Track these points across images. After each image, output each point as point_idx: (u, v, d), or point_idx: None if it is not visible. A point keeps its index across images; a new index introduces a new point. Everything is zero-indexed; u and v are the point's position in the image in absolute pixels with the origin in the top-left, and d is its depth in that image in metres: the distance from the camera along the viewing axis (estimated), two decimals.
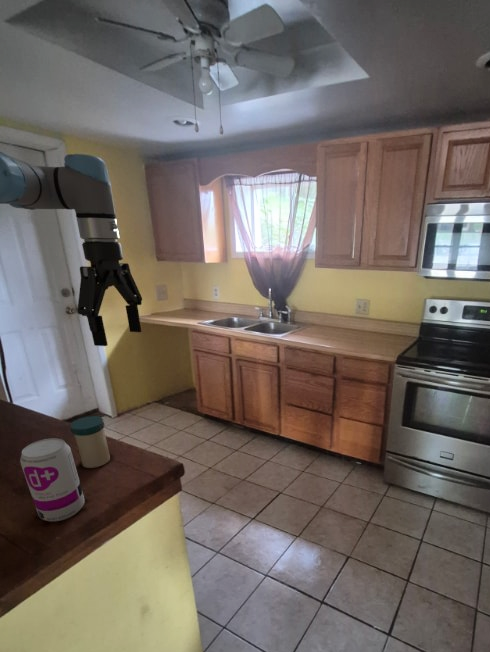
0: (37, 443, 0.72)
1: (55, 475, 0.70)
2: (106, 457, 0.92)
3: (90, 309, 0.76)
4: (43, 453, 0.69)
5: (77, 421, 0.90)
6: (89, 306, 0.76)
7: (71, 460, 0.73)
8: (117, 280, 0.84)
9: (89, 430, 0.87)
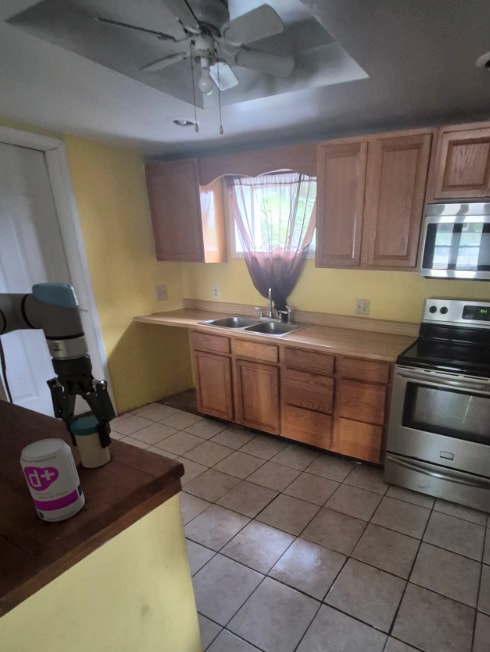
0: (37, 443, 0.72)
1: (55, 475, 0.70)
2: (106, 457, 0.92)
3: (56, 414, 0.88)
4: (43, 453, 0.69)
5: (77, 421, 0.90)
6: (55, 412, 0.88)
7: (71, 460, 0.73)
8: None
9: (89, 430, 0.87)
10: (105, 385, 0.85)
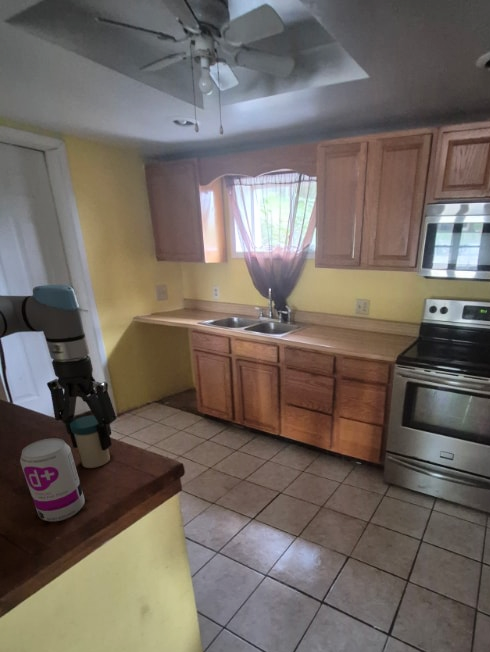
0: (37, 443, 0.72)
1: (55, 475, 0.70)
2: (106, 457, 0.92)
3: (57, 416, 0.88)
4: (43, 453, 0.69)
5: (77, 426, 0.87)
6: (55, 414, 0.88)
7: (71, 460, 0.73)
8: None
9: None
10: (105, 387, 0.85)
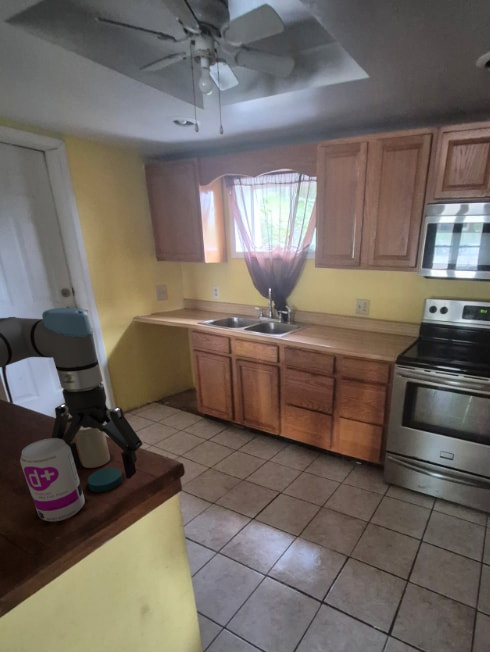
0: (37, 443, 0.72)
1: (55, 475, 0.70)
2: (106, 457, 0.92)
3: None
4: (43, 453, 0.69)
5: (95, 482, 0.82)
6: (53, 437, 0.81)
7: (71, 460, 0.73)
8: None
9: (121, 475, 0.86)
10: (120, 412, 0.78)
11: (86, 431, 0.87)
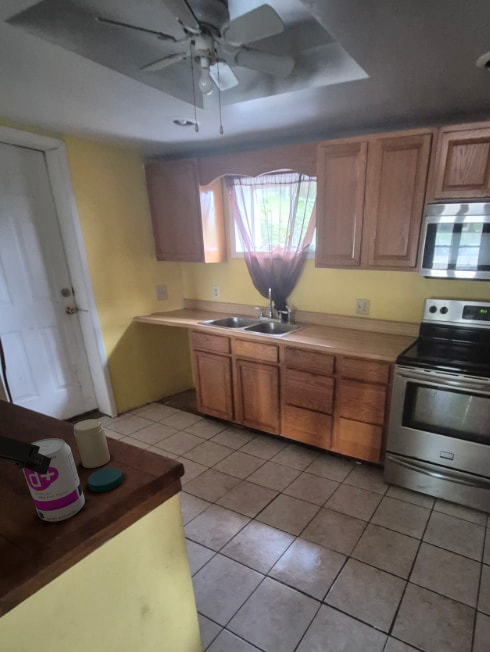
0: (37, 443, 0.72)
1: (55, 475, 0.70)
2: (106, 457, 0.92)
3: None
4: (43, 453, 0.69)
5: (95, 482, 0.82)
6: None
7: (71, 460, 0.73)
8: None
9: (121, 475, 0.86)
10: None
11: (86, 431, 0.87)
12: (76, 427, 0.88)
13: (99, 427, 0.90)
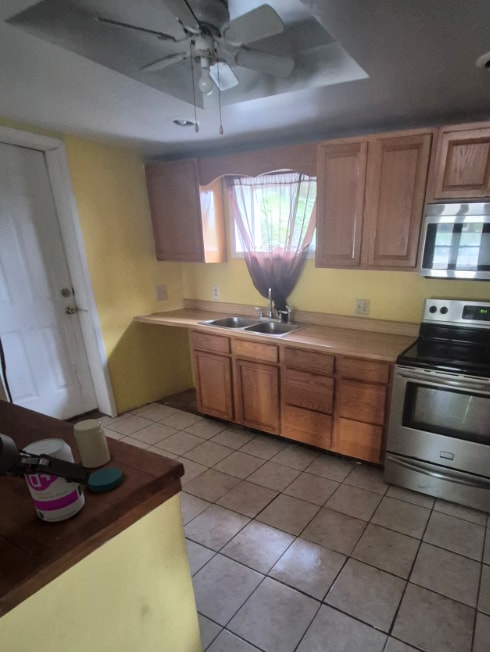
0: (37, 443, 0.72)
1: None
2: (106, 457, 0.92)
3: (1, 475, 0.70)
4: (43, 453, 0.69)
5: (95, 482, 0.82)
6: None
7: (71, 460, 0.73)
8: None
9: (121, 475, 0.86)
10: (47, 459, 0.63)
11: (86, 431, 0.87)
12: (76, 427, 0.88)
13: (99, 427, 0.90)
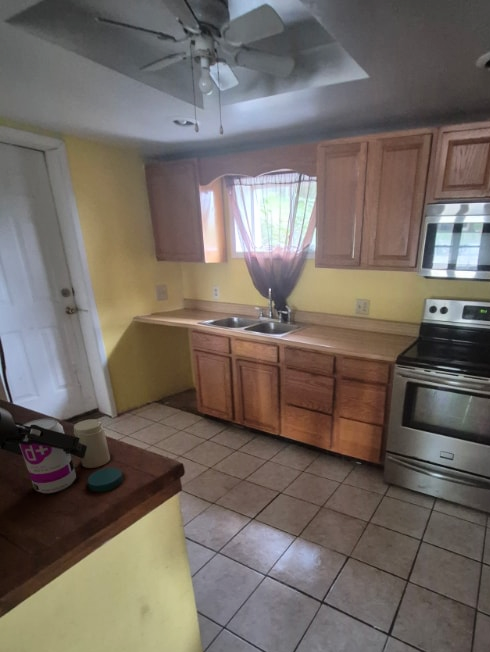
0: (32, 422, 0.80)
1: (49, 451, 0.78)
2: (106, 457, 0.92)
3: None
4: None
5: (95, 482, 0.82)
6: None
7: None
8: None
9: (121, 475, 0.86)
10: (38, 430, 0.70)
11: (86, 431, 0.87)
12: (76, 427, 0.88)
13: (99, 427, 0.90)
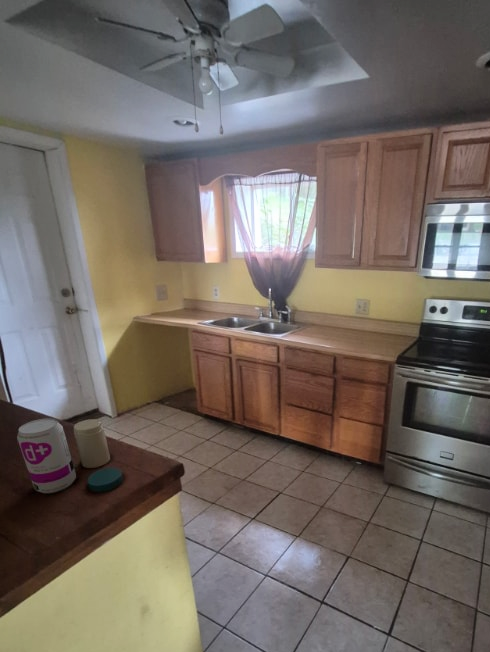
0: (33, 422, 0.80)
1: (49, 451, 0.78)
2: (106, 457, 0.92)
3: None
4: (38, 430, 0.77)
5: (95, 482, 0.82)
6: None
7: (63, 438, 0.81)
8: None
9: (121, 475, 0.86)
10: None
11: (86, 431, 0.87)
12: (76, 427, 0.88)
13: (99, 427, 0.90)
